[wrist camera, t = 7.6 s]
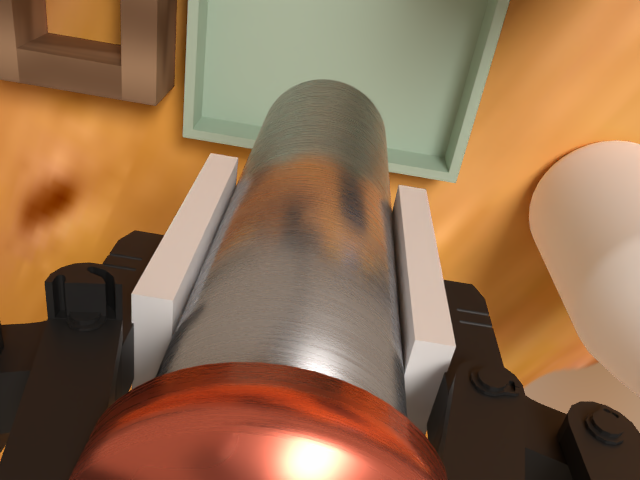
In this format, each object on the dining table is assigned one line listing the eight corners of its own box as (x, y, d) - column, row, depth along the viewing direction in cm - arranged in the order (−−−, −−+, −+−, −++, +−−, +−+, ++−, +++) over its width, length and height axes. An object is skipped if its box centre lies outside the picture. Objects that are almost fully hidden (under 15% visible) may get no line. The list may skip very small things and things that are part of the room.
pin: (255, 50, 21) (27, 398, 7) (417, 78, 21) (520, 477, 7) (240, 196, 24) (59, 652, 10) (383, 220, 24) (408, 704, 10)
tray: (206, -128, 33) (193, -128, 31) (517, -72, 34) (530, -68, 31) (194, 120, 40) (182, 137, 38) (450, 163, 41) (455, 183, 38)
